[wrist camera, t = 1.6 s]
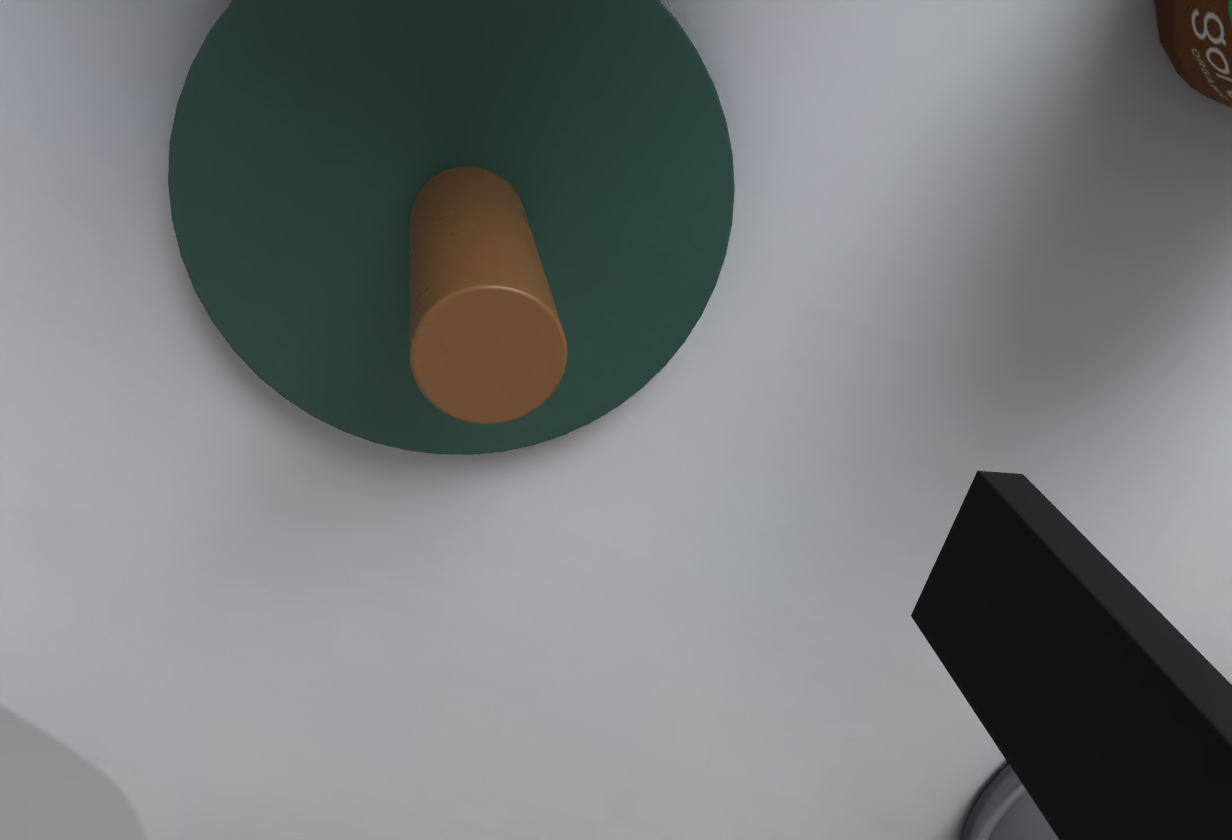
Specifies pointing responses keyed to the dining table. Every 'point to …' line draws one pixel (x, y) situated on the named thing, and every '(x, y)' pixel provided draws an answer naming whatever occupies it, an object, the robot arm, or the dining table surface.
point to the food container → (1199, 43)
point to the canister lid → (452, 208)
